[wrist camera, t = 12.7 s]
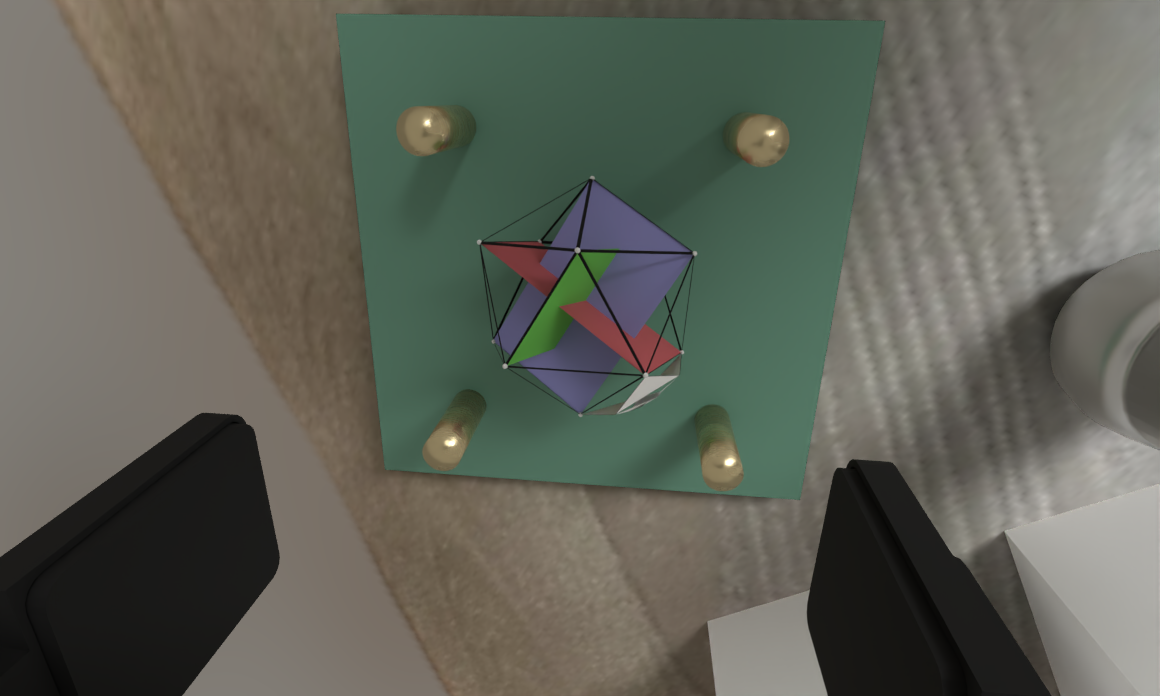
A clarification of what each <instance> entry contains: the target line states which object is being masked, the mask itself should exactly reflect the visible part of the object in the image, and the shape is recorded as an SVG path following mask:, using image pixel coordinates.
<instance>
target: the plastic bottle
mask: <svg viewBox="0 0 1160 696" xmlns="http://www.w3.org/2000/svg"><path fill="white" fill-rule="evenodd" d="M1050 361H1051V366H1052V371H1053V374H1054V376H1055V378H1056V380H1057V382H1058V384H1059V385H1060V386H1061V388H1062V389H1063V390H1064V391H1065V392H1066V394H1067V395H1068V396H1069V397H1070V398H1071V399H1072V400H1073V401H1074V403H1075V404H1076V405H1077V406H1078V407H1079V408H1080V409H1081V410H1082V412H1083V413H1084V414H1085V415H1087V416H1088V417H1090V418H1091V419H1092V420H1094V421H1095V422H1096V423H1098V424H1100V425H1102V426H1104V427H1106V428H1108V429H1110V430H1112V431H1114V432H1117V433H1119V434H1121V435H1123V436H1125V437H1127V438H1129V439H1132V440H1134V441H1136V442H1139V443H1141V444H1144V445H1146V446H1149V447H1152V448H1154V449H1157V450H1160V250H1156V251H1150V252H1145V253H1140V254H1137V255H1134V256H1131V257H1128V258H1126V259H1123V260H1120V261H1118V262H1117V263H1115V264H1113V265H1111V266H1109V267H1107V268H1105V269H1103V270H1102V271H1100V272H1098V273H1097V274H1095V275H1094V276H1092V277H1091V278H1090V279H1088V280H1087V281H1086V282H1084V283H1083V284H1082V285H1081V286H1080V287H1079V288H1078V289H1077V290H1076V291H1075V292H1074V293H1073V294H1072V295H1071V296H1070V297H1069V299H1068V300H1067V302H1066V303H1065V304H1064V306H1063V307H1062V309H1061V311H1060V313H1059V315H1058V317H1057V319H1056V321H1055V324H1054V328H1053V332H1052V336H1051V343H1050Z"/></svg>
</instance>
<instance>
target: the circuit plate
mask: <svg viewBox="0 0 1160 696" xmlns="http://www.w3.org/2000/svg"><path fill="white" fill-rule="evenodd" d="M336 19H337V28H338V38H339V47H340V56H341V65H342V75H343V84H344V93H345V103H346V112H347V121H348V131H349V140H350V149H351V158H352V168H353V177H354V186H355V196H356V205H357V214H358V224H359V233H360V242H361V251H362V261H363V270H364V279H365V289H366V298H367V307H368V317H369V326H370V335H371V344H372V354H373V363H374V372H375V382H376V391H377V400H378V410H379V419H380V428H381V437H382V447H383V456H384V465H385V470H398V471H412V472H425V473H439V474H453V475H466V476H480V477H494V478H507V479H521V480H535V481H549V482H562V483H576V484H590V485H603V486H617V487H631V488H644V489H658V490H672V491H685V492H699V493H713V494H726V495H740V496H754V497H767V498H781V499H795V500H800V497H801V491H802V485H803V480H804V474H805V469H806V463H807V457H808V452H809V446H810V441H811V435H812V429H813V424H814V418H815V412H816V407H817V401H818V396H819V390H820V384H821V379H822V373H823V368H824V362H825V356H826V351H827V345H828V340H829V334H830V328H831V323H832V317H833V312H834V306H835V300H836V295H837V289H838V283H839V278H840V272H841V267H842V261H843V255H844V250H845V244H846V239H847V233H848V227H849V222H850V216H851V211H852V205H853V199H854V194H855V188H856V183H857V177H858V171H859V166H860V160H861V154H862V149H863V143H864V138H865V132H866V126H867V121H868V115H869V110H870V104H871V98H872V93H873V87H874V82H875V76H876V70H877V65H878V59H879V54H880V48H881V42H882V37H883V31H884V25H885V21H864V20H786V19H708V18H630V17H553V16H475V15H397V14H336ZM443 105H459V106H462V107H464V108H466V109H467V110H469V111H470V112H471V114H472V115H473V117H474V119H475V122H476V133H475V136H474V138H473V139H472V141H471V142H470V143H468V144H467V145H465V146H462V147H458V148H454V149H451V150H447V151H443V152H439V153H435V154H432V155H428V156H416V155H413V154H411V153H409V152H408V151H406V150H405V149H404V148H403V147H402V145H401V144H400V142H399V140H398V137H397V132H396V126H397V121H398V118H399V117H400V115H401V114H402V113H403V112H404V111H405V110H406V109H408V108H411V107H416V106H443ZM742 112H749V113H756V114H764V115H771V116H774V117H777V118H779V119H780V120H781V121H782V122H783V123H784V124H785V125H786V127H787V129H788V132H789V146H788V149H787V151H786V153H785V154H784V156H783V157H782V158H781V159H780V160H779V161H778V162H776V163H775V164H773V165H771V166H767V167H756V166H753V165H751V164H749V163H747V162H746V161H744V160H743V159H741V158H740V157H738V156H736V155H735V154H733V153H732V152H730V151H729V150H728V149H727V148H726V146H725V144H724V141H723V130H724V127H725V125H726V123H727V122H728V120H729V119H730V118H731V117H733V116H734V115H736V114H738V113H742ZM591 176H594V177H595V180H596V181H597V182H598V183H600V184H601V185H602V186H604V187H605V188H607V189H608V190H609V191H611V192H612V193H613V194H615V195H616V196H618V197H619V198H620V199H622V200H623V201H624V202H626V203H627V204H629V205H630V206H631V207H633V208H634V209H635V210H637V211H638V212H639V213H641V214H642V215H644V216H645V217H646V218H648V219H649V220H650V221H652V222H653V223H655V224H656V225H657V226H659V227H660V228H661V229H663V230H664V231H666V232H667V233H668V234H670V235H671V236H672V237H674V238H675V239H677V240H678V241H679V242H681V243H682V244H683V245H685V246H686V247H687V248H689V249H690V250H692V251H696V252H697V255H696V256H695V257H694V258H693V259H694V265H693V260H692V263H691V265H690V267H689V270H688V272H687V275H686V277H685V280H684V282H683V285H682V287H681V290H680V292H679V295H678V297H677V300H676V302H675V305H674V307H673V310H672V312H671V315H672V319H673V322H674V325H675V329H676V332H677V336H678V339H679V342H680V346H681V349H682V350H683V351H684V354H682V358H681V369H680V375H679V376H677V377H676V378H674V379H672V380H671V381H669V382H668V383H666V384H664V385H663V386H661V387H659V388H658V389H656V390H655V391H653V392H651V393H650V394H653V393H657V392H661V391H662V390H663V389H664V388H665V387H666V386H667V387H666V388H665V389H664V390H663V391H662V392H661V393H660V395H659V396H658V397H656V398H655V399H653V400H652V401H650V402H648V403H647V402H646V403H647V404H645V403H644V404H645V405H643V404H642V405H643V406H642V407H640V408H637V409H634V410H632V411H628V412H624V413H621V412H623V411H626V410H628V409H630V408H632V407H633V406H634V404H635V403H636V402H635V403H633V404H632V405H630V406H629V407H627V408H625V409H624V410H622V411H620V412H619V413H621V414H618V413H617V415H583V416H582V417H579V415H578V413H577V412H575V411H574V409H573V408H572V407H570V406H569V405H568V404H567V403H566V402H565V401H563V400H562V399H561V398H560V397H559V396H557V395H556V394H555V393H554V392H553V391H552V390H550V389H549V388H548V387H547V386H546V385H544V384H543V383H542V382H541V381H540V380H539V379H537V378H536V377H535V376H534V375H533V374H531V373H530V372H529V371H528V370H527V369H522V368H509V369H511V370H512V371H514V372H515V373H517V374H518V375H517V374H515V373H514V372H512V371H511V370H509V369H508V368H506V369H504V368H503V367H502V366H503V363H504V361H503V362H502V360H503V356H502V352H501V347H500V346H498V345H497V344H496V343H495V344H493V343H492V340H493V337H494V336H495V333H496V331H497V327H496V323H495V318H494V313H493V308H492V303H491V298H490V294H489V289H488V284H487V279H486V274H485V279H486V287H487V294H488V301H489V308H490V315H491V322H492V329H493V337H492V330H491V323H490V316H489V309H488V302H487V295H486V288H485V281H484V274H483V267H482V260H481V253H480V246H479V245H478V244H477V240H481V241H482V240H484V239H486V238H488V237H489V236H491V235H493V234H495V233H496V232H498V231H500V230H501V229H503V228H505V227H507V226H508V225H510V224H512V223H514V222H515V221H517V220H519V219H521V218H522V217H524V216H526V215H528V214H529V213H531V212H533V211H534V212H533V213H531V214H529V215H528V216H526V217H524V218H522V219H521V220H519V221H517V222H515V223H514V224H512V225H510V226H508V227H507V228H505V229H503V230H501V231H500V232H498V233H496V234H495V235H493V236H491V237H489V238H488V239H486V240H484V242H494V241H538V240H539V239H540V240H541V238H542V237H543V236H544V235H545V234H546V232H547V231H548V230H549V229H550V227H551V226H552V225H553V224H554V222H555V221H556V220H557V219H558V218H559V216H560V215H561V214H562V213H563V211H564V210H565V209H566V208H567V206H568V205H569V204H570V203H571V202H572V200H573V199H574V198H575V197H576V195H577V194H578V193H579V192H580V190H581V189H582V188H583V187H584V186H585V184H586V183H587V182H588V181H589V180H588V179H590V177H591ZM587 180H588V181H587ZM585 181H587V182H585ZM583 182H585V183H583ZM581 183H583V184H581ZM580 184H581V185H580ZM578 185H580V186H578ZM576 186H578V187H576ZM574 187H576V188H574ZM573 188H574V189H573ZM571 189H573V190H571ZM569 190H571V191H569ZM568 191H569V192H568ZM566 192H567V193H566ZM564 193H566V194H564ZM582 193H583V192H582ZM582 193H581V194H582ZM562 194H564V195H562ZM581 194H580V196H581ZM561 195H562V196H561ZM559 196H561V197H559ZM580 196H579V197H578V198H577V199H576V201H575V202H574V203H573V204H572V205H571V207H570V208H569V209H568V210H567V211H566V213H565V214H564V215H563V216H562V218H561V219H560V220H559V221H558V222H557V224H556V225H555V226H554V227H553V229H552V230H551V231H550V232H549V233H548V235H547V236H546V237H545V238H544V240H543V241H554V239H555V237H556V236H557V234H558V232H559V231H560V229H561V227H562V226H563V224H564V223H565V221H566V219H567V218H568V216H569V214H570V213H571V211H572V209H573V208H574V206H575V204H576V203H577V201H578V199H579V198H580ZM557 197H559V198H557ZM555 198H557V199H555ZM554 199H555V200H554ZM552 200H554V201H552ZM550 201H552V202H550ZM548 202H550V203H548ZM547 203H548V204H547ZM545 204H547V205H545ZM543 205H545V206H543ZM541 206H543V207H541ZM540 207H541V208H540ZM538 208H540V209H538ZM536 209H538V210H536ZM535 210H536V211H535ZM543 245H544V246H548V247H550V246H551V244H543ZM481 249H482V254H483V258H484V263H485V268H486V273H487V278H488V283H489V287H490V292H491V297H492V302H493V307H494V312H495V316H496V321H497V326H498V327H499V325H500V323H501V321H502V319H503V316H504V314H505V312H506V310H507V308H508V306H509V304H510V302H511V299H512V297H513V295H514V293H515V291H516V289H517V287H518V284H519V282H520V280H521V278H522V276H520V275H519V274H518V273H517V272H515V271H514V270H513V269H512V268H510V267H509V266H508V265H507V264H505V263H504V262H503V261H502V260H500V259H499V258H498V257H497V256H495V255H494V254H493V253H492V252H490V251H489V250H488V249H487V248H485V247H484V246H483V245H482V244H481ZM690 260H691V259H690ZM689 263H690V261H689V262H688V264H687V265H686V266H685V268H684V269H683V271H682V272H681V274H680V275H679V276H678V278H677V279H676V281H675V282H674V283H673V285H672V286H671V288H670V289H669V290H668V292H667V293H666V298H667V301H668V305H669V308H670V310H671V308H672V305H673V303H674V300H675V298H676V295H677V293H678V290H679V288H680V285H681V283H682V280H683V278H684V275H685V273H686V270H687V268H688V265H689ZM692 266H693V272H692ZM484 272H485V269H484ZM691 274H692V280H691ZM690 281H691V288H690ZM527 284H528V281H527V280H525V279H523V282H522V284H521V286H520V288H519V290H518V292H517V294H516V296H515V299H514V301H513V303H512V305H511V307H510V309H509V311H508V314H507V316H506V318H507V317H508V315H509V313H510V312H511V310H512V309H513V307H514V305H515V304H516V302H517V300H518V299H519V297H520V295H521V294H522V292H523V290H524V289H525V287H526V285H527ZM689 289H690V295H689ZM688 297H689V303H688ZM687 304H688V310H687ZM686 312H687V318H686ZM668 315H669V311H668V308H667V304H666V301H665V297H664V298H663V299H662V300H661V302H660V303H659V305H658V306H657V307H656V309H655V310H654V312H653V313H652V315H651V316H650V317H649V319H648V320H647V322H646V323H645V324H646V325H647V326H648V327H650V328H651V329H652V330H653V331H655V332H656V333H657V334H659V335H661V332H662V330H663V327H664V325H665V322H666V320H667V317H668ZM506 318H505V320H506ZM505 320H504V322H505ZM685 320H686V325H685ZM504 322H503V323H504ZM502 325H503V324H502ZM501 327H502V326H501ZM684 327H685V333H684ZM683 335H684V341H683ZM662 338H664V339H665V340H666V341H668V342H669V343H670V344H671V345H673V346H674V347H675V348H677V349H678V350H679V351H680V349H679V346H678V342H677V339H676V335H675V332H674V328H673V325H672V322H671V318H670V317H669V320H668V322H667V325H666V327H665V330H664V332H663V335H662ZM682 343H683V348H682ZM495 345H496V346H495ZM496 347H497V349H496ZM497 350H498V351H497ZM502 350H503V349H502ZM498 352H499V353H498ZM499 354H500V355H499ZM503 355H504V360H505V363H506V362H507V360H508V358H509V357H510V355H509V354H508V353H507V352H505V351H504V350H503ZM679 355H680V354H679ZM679 355H678V356H679ZM500 356H501V357H500ZM678 356H676V357H674V358H673V359H671V360H670V361H668V362H667V363H665V364H664V365H662V366H660V367H659V368H657V369H656V370H654V371H653V372H651V373H650V374H648V376H660V375H661V374H662V373H663V372H664V371H665V370H666V369H667V368H668V367H669V366H670V365H671V364H672V363H673V361H674V360H675V359H676V358H677V357H678ZM501 358H502V360H501ZM508 366H520V367H523V366H522V365H521V364H520V363H518V362H516V363H514V364H511V365H508ZM611 373H627V374H642V373H641V372H640V371H639V370H637V369H636V368H635V367H634V366H632V365H631V364H630V363H629V362H627V361H626V360H625V359H624V358H622V357H621V358H620V360H619V361H618V363H617V364H616V365H615V367H614V368H613V370H612V371H611ZM519 375H520V376H522V377H523V378H525V379H526V380H528V381H529V382H528V381H526V380H525V379H523V378H522V377H520V376H519ZM642 375H643V374H642ZM640 377H641V376H628V375H613V374H609V375H608V377H607V378H606V379H605V381H604V382H603V384H602V385H601V387H600V388H599V389H598V391H597V392H596V394H595V395H594V396H593V398H592V399H591V401H590V402H589V403H588V405H587V406H586V408H585V409H584V411H586V410H587V409H589V408H591V407H592V406H594V405H596V404H597V403H599V402H600V401H602V400H604V399H605V398H607V397H609V396H610V395H612V394H613V393H615V392H617V391H618V390H620V389H622V388H623V387H625V386H627V385H628V384H630V383H631V382H633V381H635V380H636V379H638V378H640ZM643 379H644V377H643V378H641V379H640V380H638V381H636V382H635V383H633V384H631V385H630V386H628V387H626V388H625V389H623V390H621V391H620V392H618V393H616V394H615V395H613V396H611V397H610V398H608V399H606V400H605V401H603V402H601V403H599V404H598V405H596V406H594V407H593V408H591V409H589V410H588V411H586V412H584V411H583V412H584V413H583V414H585V413H588V412H592V411H595V410H598V409H602V408H605V407H608V406H612V405H615V404H619V403H622V402H625V401H626V400H627V399H628V398H629V396H630V395H631V394H632V393H633V391H634V390H635V389H636V388H637V386H638V385H639V384H640V383H641V381H642V380H643ZM673 380H674V381H673ZM672 381H673V382H672ZM530 382H531V383H533V384H534V385H536V386H537V387H539V388H540V389H539V388H537V387H536V386H534V385H533V384H531V383H530ZM671 382H672V383H671ZM670 383H671V384H670ZM466 389H470V390H474V391H477V392H478V393H480V394H481V395H482V396H483V397H484V399H485V401H486V411H485V413H484V415H483V417H482V419H481V421H480V423H479V425H478V427H477V429H476V431H475V433H474V434H473V436H472V438H471V440H470V442H469V444H468V446H467V448H466V450H465V452H464V454H463V456H462V458H461V460H460V462H459V464H458V465H457V466H456V467H455V468H454V469H452V470H449V471H439V470H436V469H434V468H432V467H431V466H429V465H428V464H427V463H426V461H425V460H424V458H423V453H422V450H423V446H424V444H425V443H426V441H427V440H428V438H429V437H430V435H431V433H432V432H433V430H434V429H435V427H436V426H437V424H438V423H439V421H440V419H441V418H442V416H443V415H444V413H445V412H446V410H447V408H448V407H449V405H450V404H451V402H452V401H453V399H454V397H455V396H456V394H457V393H459V392H460V391H462V390H466ZM541 389H542V390H544V391H545V392H547V393H548V394H550V395H551V396H550V395H548V394H547V393H545V392H544V391H542V390H541ZM650 394H648V395H650ZM552 396H553V397H555V398H556V399H558V400H559V401H561V402H562V403H561V402H559V401H558V400H556V399H555V398H553V397H552ZM563 403H564V404H566V405H567V406H569V407H570V408H569V407H567V406H566V405H564V404H563ZM711 404H714V405H719V406H721V407H723V408H724V409H725V410H726V411H727V412H728V414H729V418H730V422H731V425H732V429H733V433H734V437H735V441H736V444H737V448H738V452H739V456H740V460H741V463H742V467H743V471H744V476H743V480H742V482H741V483H740V484H739V485H738V486H737V487H736V488H734V489H732V490H729V491H716V490H714V489H712V488H710V487H709V486H708V485H707V484H706V483H705V482H704V479H703V475H702V468H701V461H700V455H699V448H698V442H697V435H696V428H695V421H694V419H695V415H696V413H697V411H698V410H699V409H700V408H702V407H704V406H706V405H711ZM640 406H641V405H640ZM571 408H572V409H573V410H572V409H571Z"/></svg>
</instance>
